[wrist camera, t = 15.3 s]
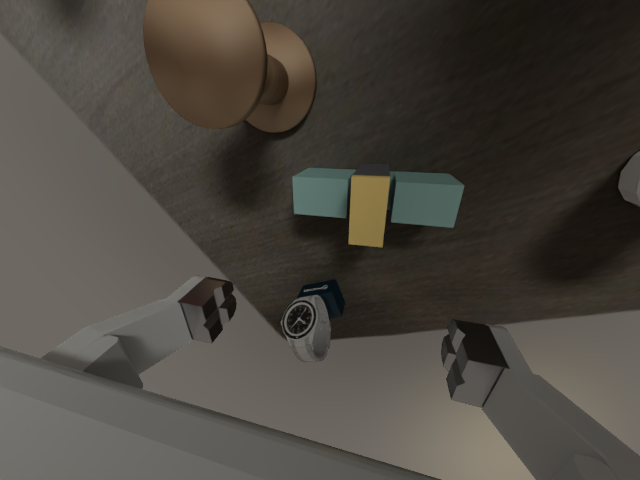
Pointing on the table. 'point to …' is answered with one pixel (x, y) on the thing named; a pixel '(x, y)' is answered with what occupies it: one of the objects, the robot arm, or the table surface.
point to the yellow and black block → (369, 204)
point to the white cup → (631, 180)
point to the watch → (312, 319)
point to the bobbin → (228, 64)
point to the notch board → (403, 199)
